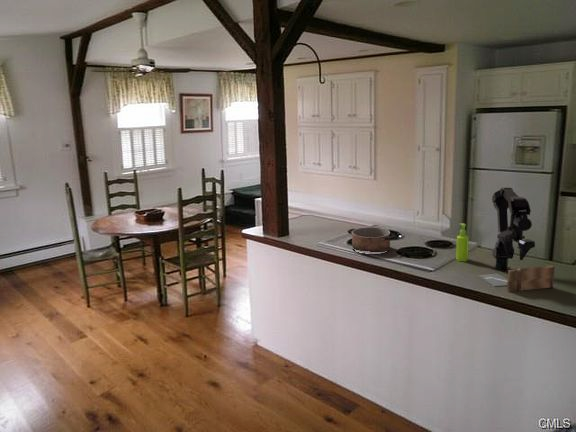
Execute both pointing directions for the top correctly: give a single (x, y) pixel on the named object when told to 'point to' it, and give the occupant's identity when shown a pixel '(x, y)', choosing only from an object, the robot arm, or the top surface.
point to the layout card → (495, 279)
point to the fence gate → (537, 277)
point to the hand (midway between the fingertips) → (514, 257)
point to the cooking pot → (371, 239)
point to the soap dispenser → (462, 245)
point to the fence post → (514, 280)
